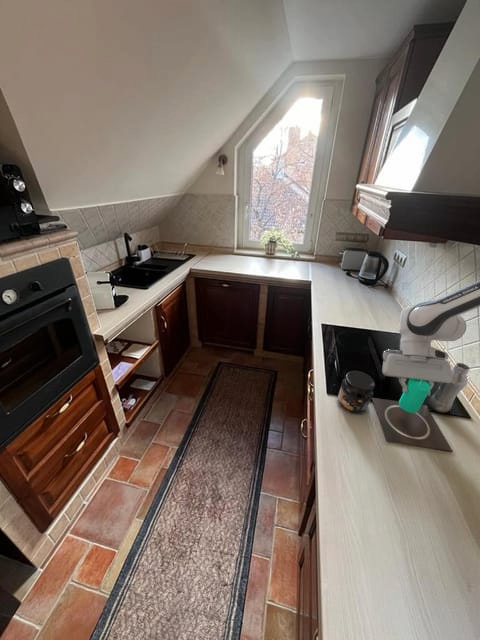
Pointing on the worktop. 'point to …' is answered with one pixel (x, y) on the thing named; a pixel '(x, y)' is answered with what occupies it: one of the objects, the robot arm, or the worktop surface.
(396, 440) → the brown square pad
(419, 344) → the robot arm
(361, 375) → the supplement container
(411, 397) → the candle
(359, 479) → the worktop surface
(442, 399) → the plastic bottle
